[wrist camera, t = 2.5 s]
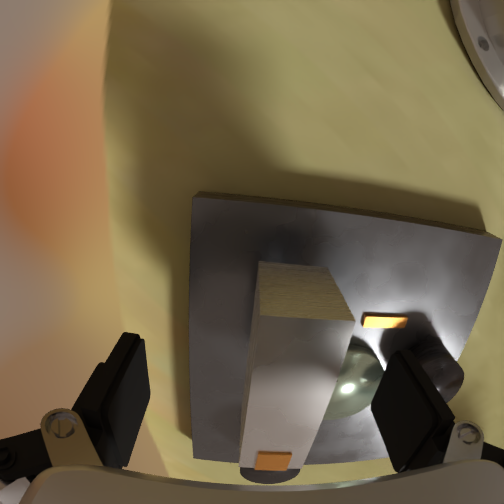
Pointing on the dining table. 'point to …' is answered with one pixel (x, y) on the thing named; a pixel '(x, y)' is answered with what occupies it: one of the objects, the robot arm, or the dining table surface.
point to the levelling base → (355, 294)
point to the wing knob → (291, 363)
